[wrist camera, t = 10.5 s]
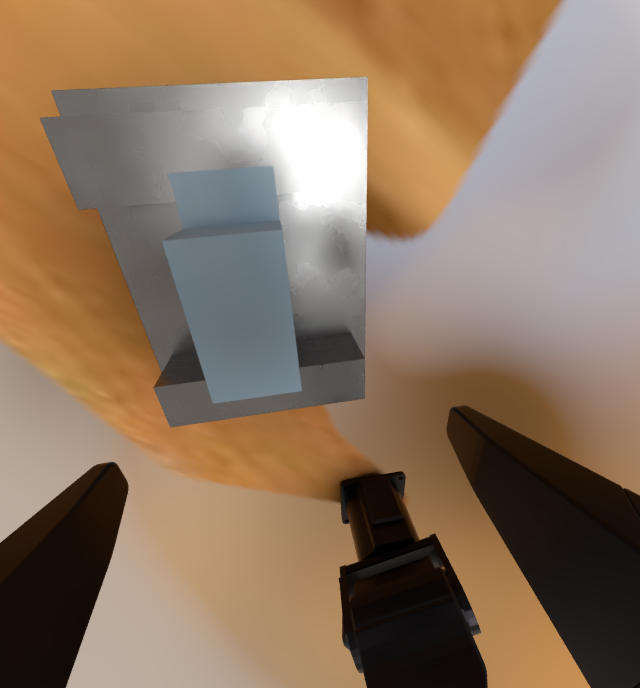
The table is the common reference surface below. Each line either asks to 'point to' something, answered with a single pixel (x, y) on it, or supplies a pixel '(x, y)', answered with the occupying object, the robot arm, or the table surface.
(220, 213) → the block
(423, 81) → the table surface
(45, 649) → the robot arm
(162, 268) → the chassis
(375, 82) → the table surface
